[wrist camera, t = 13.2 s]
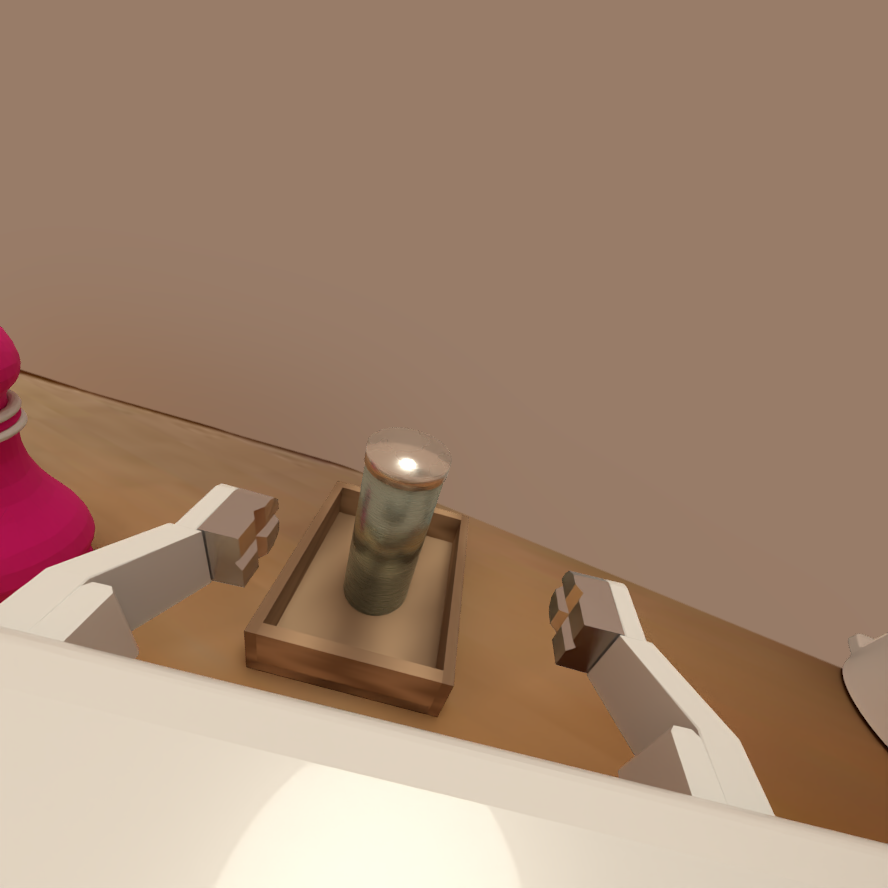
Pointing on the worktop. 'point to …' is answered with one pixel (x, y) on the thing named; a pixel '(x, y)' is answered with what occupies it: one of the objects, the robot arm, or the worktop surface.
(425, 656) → the crate
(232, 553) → the robot arm
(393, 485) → the spice tin
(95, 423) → the worktop surface
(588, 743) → the worktop surface
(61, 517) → the pepper mill
